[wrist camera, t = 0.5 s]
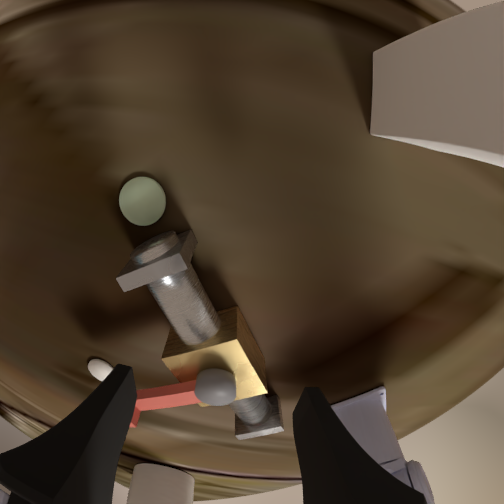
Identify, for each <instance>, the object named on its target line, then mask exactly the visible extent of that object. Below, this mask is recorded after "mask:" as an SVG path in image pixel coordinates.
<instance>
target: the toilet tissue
mask: <svg viewBox="0 0 504 504" xmlns="http://www.w3.org/2000/svg"><path fill="white" fill-rule="evenodd" d="M194 483H195V482H194V478H193V477H192V476H191V475H189V474H187V473H185V472H183V471H180V470H177V469H174V468H170V467H166V466H161V465H156V464H148V463H142V464H137V465H135V466H134V470H133V475H132V478H131V483H130V488H129V493H128V499H127V504H193V496H194V494H193V491H194Z"/></svg>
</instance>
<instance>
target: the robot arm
mask: <svg viewBox="0 0 504 504" xmlns="http://www.w3.org/2000/svg"><path fill="white" fill-rule="evenodd" d="M136 400H137V392H136V387H135V381H134V376H133V370H132V367H130V366H126V365H122V364H117V365H116V366H115V367H114V369H113V370H112V371H111V372H110V373H109V375H108V376H107V377H106V378H105V379H104V380H103V381H102V382H101V384H100V385H99V386H98V387H97V388H96V389H95V390H94V391H93V392H92V393H91V394H90V395H89V396H88V397H87V398H86V399H85V400H84V401H83V402H82V403H81V404H80V405H79V406H78V407H77V408H76V409H75V410H74V411H73V412H71V413H70V414H69V415H68V416H67V417H66V418H64V419H63V420H62V421H60V422H59V423H58V424H57V425H55V426H54V427H52V428H51V429H49V430H48V431H46V432H45V433H43V434H42V435H40V436H38V437H36V438H35V439H33V440H31V441H29V442H27V443H25V444H23V445H21V446H19V447H16V448H14V449H11V450H9V451H6V452H4V453H1V454H0V484H2V485H3V486H5V487H6V488H7V489H9V490H10V491H11V494H10V495H8V494H7V493H5V492H4V491H3V490H1V489H0V504H112V495H113V488H114V481H115V475H116V469H117V464H118V460H119V456H120V453H121V450H122V447H123V444H124V441H125V438H126V435H127V432H128V429H129V426H130V423H131V420H132V417H133V414H134V409H135V405H136ZM293 432H294V439H295V444H296V449H297V455H298V460H299V465H300V470H301V476H302V484H303V503H304V504H435V503H434V497H433V494H432V491H431V488H430V485H429V482H428V480H427V477H426V475H425V472H424V470H423V468H422V466H421V464H420V463H419V462H417V461H413V460H411V461H409V462H407V461H406V460H405V459H404V456H403V453H402V451H401V448H400V446H399V443H398V441H397V438H396V436H395V433H394V431H393V428H392V426H391V423H390V421H389V418H388V416H387V413H386V389H385V387H379V388H377V389H374V390H372V391H369V392H367V393H364V394H362V395H359V396H357V397H354V398H351V399H348V400H346V401H343V402H340V403H337V404H334V405H331V406H330V404H329V403H328V401H327V399H326V398H325V396H324V395H323V393H322V391H321V390H320V388H319V387H305V388H304V390H303V393H302V395H301V397H300V399H299V401H298V403H297V405H296V407H295V409H294V411H293Z"/></svg>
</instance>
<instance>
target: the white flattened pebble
mask: <svg viewBox="0 0 504 504" xmlns="http://www.w3.org/2000/svg"><path fill="white" fill-rule="evenodd" d="M88 369H89V371H90V372H91V374H92V375H93V376H94V377H96V378H97V379H99V380H100V381H103V380H104V379H105V378H106V377H107V376H108V375H109V373H110V372H111V371H112V370H113V369H114V368H113V367H112V366H111V365H110V364H109V363H107V362H105V361H103V360H100V359H92V360H91V361H90V362H89V364H88Z"/></svg>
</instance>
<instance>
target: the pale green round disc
mask: <svg viewBox="0 0 504 504" xmlns="http://www.w3.org/2000/svg"><path fill="white" fill-rule="evenodd" d="M119 204H120V209H121V211H122V213H123V215H124V216H125V217H126V218H127V219H128V220H129V221H130V222H132V223H134V224H136V225H140V226H146V225H150V224H153V223H154V222H156V221H157V220H158V219H159V218H160V217H161V216H162V214H163V213H164V210H165V207H166V196H165V193H164V190H163V188H162V187H161V185H160V184H159V183H158V182H156V181H155V180H154V179H152V178H149V177H136V178H134V179H131V180H130V181H128V182H127V183H126V184H125V185H124V186H123V188H122V190H121V192H120V196H119Z"/></svg>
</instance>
